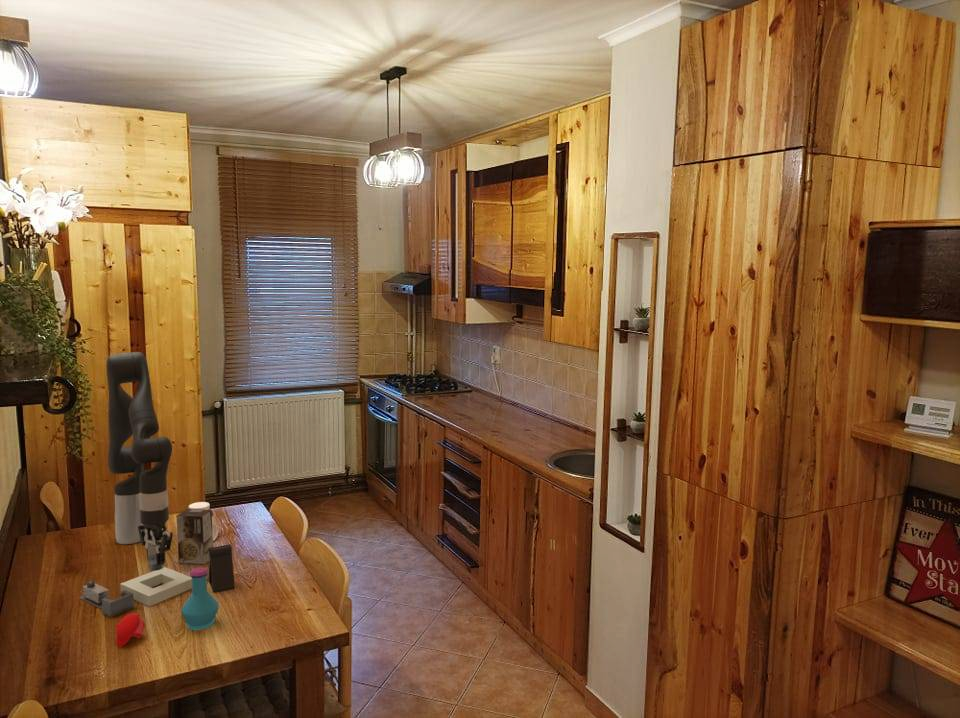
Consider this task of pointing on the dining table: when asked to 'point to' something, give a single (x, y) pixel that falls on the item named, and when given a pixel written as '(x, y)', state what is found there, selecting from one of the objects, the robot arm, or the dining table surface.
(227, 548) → the phone stand
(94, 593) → the bolt
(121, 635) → the cap
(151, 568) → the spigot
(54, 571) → the dining table surface
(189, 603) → the perfume bottle
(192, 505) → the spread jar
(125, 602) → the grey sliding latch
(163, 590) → the socket
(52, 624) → the dining table surface
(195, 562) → the coffee box
